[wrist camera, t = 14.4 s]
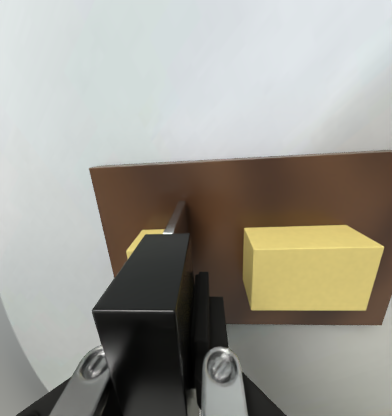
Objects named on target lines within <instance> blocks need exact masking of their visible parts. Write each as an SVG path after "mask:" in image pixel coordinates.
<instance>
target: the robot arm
mask: <svg viewBox="0 0 392 416" xmlns="http://www.w3.org/2000/svg"><path fill="white" fill-rule="evenodd" d="M194 288H195V293H194V305H193V316H192V327H191V353H192V364H193V375H194V387H195V389H196V398H197V405H198V406H199V408H200V409H201V416H286V415H285V414H284V413H283V412H282V411H281V410H280V409H279V408H278V407H277V406H276V405H275V404H274V403H273V402H272V401H271V400H270V399H269V398H268V397H267V396H266V395H265V394H264V393H263V392H262V391H261V390H260V389H259V388H258V387H257V386H256V385H255V384H254V383H253V382H252V381H251V380H250V379H249V378H248V377H247V376H246V375H245V374H244V373H243V372H242V371H241V365H240V362H239V359H238V357H237V356H236V354H235V353H234V352H233V351H232V350H230V349H228V340H227V330H226V320H225V310H224V301H223V297H210V296H209V272H199V274H195V283H194ZM16 416H123V415H122V412H121V409H120V405H119V402H118V398H117V395H116V392H115V388H114V385H113V382H112V378H111V375H110V371H109V368H108V365H107V361H106V358H105V355H104V351H103V348H102V345H100V346H97V347H95V348H94V349H92V350H91V351H89V352H88V353H87V354H86V355H85V356H84V357H83V359H82V360H81V362H80V363H79V365H78V367H77V368H76V370H75V372H74V373H73V375H72V377H70V378H69V379H68V380H66V381H65V382H63V383H62V384H60V385H59V386H57V387H56V388H55V389H53V390H52V391H50V392H49V393H47V394H46V395H45V396H43V397H42V398H40V399H39V400H38V401H36V402H34V403H33V404H32V405H30V406H29V407H27V408H26V409H25V410H23V411H22V412H20V413H19V414H17V415H16Z"/></svg>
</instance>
